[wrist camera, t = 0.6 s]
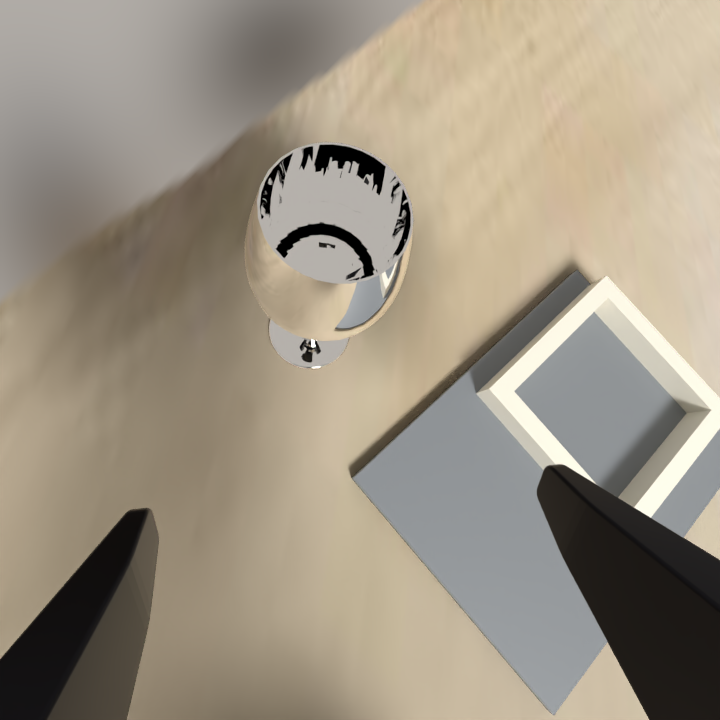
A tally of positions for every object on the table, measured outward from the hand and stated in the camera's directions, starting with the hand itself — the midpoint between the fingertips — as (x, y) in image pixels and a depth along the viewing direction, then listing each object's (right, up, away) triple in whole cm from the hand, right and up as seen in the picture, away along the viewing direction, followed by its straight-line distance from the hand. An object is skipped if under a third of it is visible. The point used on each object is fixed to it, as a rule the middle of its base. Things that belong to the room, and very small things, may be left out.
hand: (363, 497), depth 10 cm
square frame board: (+11, -3, +15) cm, 19 cm away
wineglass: (-3, +5, +15) cm, 16 cm away
